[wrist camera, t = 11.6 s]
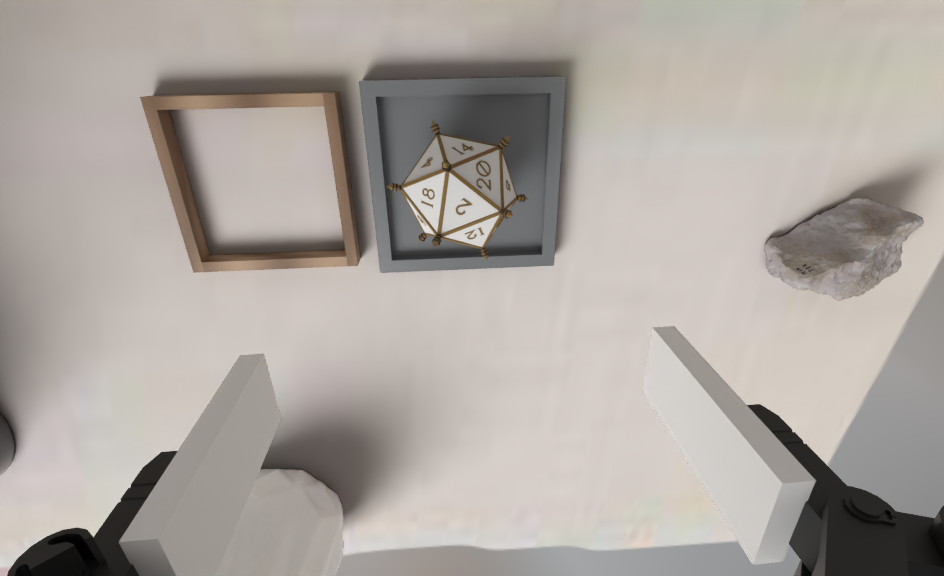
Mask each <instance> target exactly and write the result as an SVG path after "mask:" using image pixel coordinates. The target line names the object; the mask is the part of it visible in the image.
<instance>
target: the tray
mask: <svg viewBox="0 0 944 576" xmlns="http://www.w3.org/2000/svg"><path fill="white" fill-rule="evenodd" d="M359 86H360V95H361V104H362V113H363V122H364V131H365V140H366V149H367V158H368V166H369V175H370V184H371V193H372V202H373V211H374V220H375V229H376V238H377V246H378V255H379V264H380V273H387V272H411V271H434V270H458V269H481V268H505V267H529V266H552V265H554V256H555V240H556V225H557V210H558V194H559V179H560V164H561V148H562V133H563V118H564V103H565V87H566V77H564V76H542V77H493V78H445V79H396V80H361V81H359ZM432 120H433V121H434V122H435V123H436V124H439V125H438V126H439V128H440V129H439V131H440V133H441V134H446V135H451V136H456V137H461V138H466V139H471V140H475V141H480V142H485V143H490V144H495V145H499V143H500V141H501V140H502V138H505V137H508V136H510V137H509V144H507V145H506V146H507V147H504V148H503V149H502V150H503V153H504V156H505V160H506V163H507V166H508V169H509V172H510V175H511V179H512V182H513V185H514V188H515V191H516V194H517V195H520V194H521V195H523V194H524V195H525V196H526V197H527V198H528V199H527V200H526V201H524V202H522V201H520V202H519V201H518V200H516V202H515V203H514V205H513V206H512V208H511V209H510V211H512V215H513V216H512V217H509V218H507V219H506V217H505V218H504V220H503V221H502V222H501V224H500V225H499V227H498V228H497V230H496V231H495V233H494V234H493V236H492V237H491V239H490V240H489V242H488V243H487V245H486V246H485V249H486V250H488V251H487V252H488V253H489V254H488V258H487V259H485V258H484V257H481V256H482V255H481V254H480V253H481V250H480V249H478V248H474V247H471V246H467V245H463V244H459V243H455V242H451V241H447V240H443V239H441V242H440V245H437V246H435V247H433V243H432V240H433V239H434V237H431V236H427V238H426V239H425V241H421V242H419V235H421V233H424V232H423V230H422V228H421V226H420V225H419V223H418V221H417V219H416V217H415V216H414V214H413V212H412V210H411V208H410V206H409V205H408V203H407V201H406V199H405V197H404V196H403V194H402V192H401V191H400V190H398V191H397V192H396V191H393V192H392V190H391V189H389V188H388V187H387V186H388V185H391V184H392V183H394V184H396V183H397V184H398V185H401V184H402V183H403V181H404V180H405V179H406V177H407V176H408V174H409V173H410V171H411V170H412V168H413V167H414V166H415V164H416V163H417V161H418V160H419V158H420V157H421V155H422V154H423V152H424V151H425V150H426V148H427V147H428V145H429V144H430V142H431V141H432V139H433V138H434V136H435V133H434V132H432V131H433V130H432V128H431V126H432Z"/></svg>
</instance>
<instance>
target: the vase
mask: <svg viewBox="0 0 944 576" xmlns="http://www.w3.org/2000/svg"><path fill="white" fill-rule="evenodd" d="M343 546H344V542H343V509H342V505H341V503H340V500H339V497H338V495H337V494H336V493H335V492H333V491H332V490H331V489H329V488H328V487H327V486H325V485H324V484H323V483H322V482H321V481H319V480H316V479H315V478H314V477H313V476H311V475H310V474H308V473H307V472H305V471H303V470H293V469H260V471H259V473H258V476H257V478H256V481H255V483H254V485H253V488H252V490H251V493H250V495H249V497H248V500H247V502H246V504H245V507H244V509H243V512H242V514H241V516H240V519H239V521H238V524H237V526H236V528H235V531H234V533H233V535H232V538H231V540H230V543H229V545H228V547H227V550H226V552H225V555H224V557H223V559H222V562H221V564H220V566H219V569H218V571H217V574H216V576H335V574H336V572H337V569H338V567H339V565H340V562H341V560H342V556H343Z"/></svg>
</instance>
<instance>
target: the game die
mask: <svg viewBox="0 0 944 576" xmlns="http://www.w3.org/2000/svg"><path fill="white" fill-rule="evenodd" d="M438 125H439V124H436V123H435V122H434V121H433V120H432V126H431V128H432V130H433V131H432V132H434V133H435V136H434V138H433V139H432V141H431V142H430V144H429V145H428V147H427V148H426V150H425V151H424V152H423V154H422V155H421V157H420V158H419V160H418V161H417V163H416V164H415V166H414V167H413V168H412V170H411V171H410V173H409V174H408V176H407V177H406V179H405V180H404V181H403V183H402V184H401V185H398V184H397V183H396V184H394V183H392V184H391V185H388V186H387V187H388V188H389V189H391V190H392V192H393V191H396V192H397V191H398V190H400V191H401V192H402V194H403V196H404V197H405V199H406V201H407V203H408V205H409V206H410V208H411V210H412V212H413V214H414V216H415V217H416V219H417V221H418V223H419V225H420V226H421V228H422V230H423V232H424V233H421V235H419V242H421V241H425V239H426V238H427V236H431V237H434V239H433V240H432V243H433V247H435V246H437V245H440V242H441V239H443V240H447V241H451V242H455V243H459V244H463V245H467V246H471V247H474V248H478V249H480V250H481V253H480V254H481V255H482V256H481V257H484V258H485V259H487V258H488V254H489V253H488V252H487V251H488V250H486V249H485V246H486V245H487V243H488V242H489V240H490V239H491V237H492V236H493V234H494V233H495V231H496V230H497V228H498V227H499V225H500V224H501V222H502V221H503V220H504V218H505V217H506V219H507V218H509V217H512V216H513V215H512V211H510V209H511V208H512V206H513V205H514V203H515V202H516V200H518V201H519V202H520V201H522V202H524V201H526V200H527V199H528V198H527V197H526V196H525V195H524V194H523V195H521V194H520V195H517V194H516V191H515V188H514V185H513V182H512V179H511V175H510V172H509V169H508V166H507V163H506V160H505V156H504V153H503V150H502V149H503V148H504V147H507V146H506V145H507V144H509V137H510V136H508V137H505V138H502V140H501V141H500V143H499V145H495V144H490V143H485V142H480V141H475V140H471V139H466V138H461V137H456V136H451V135H446V134H441V133H440V131H439V129H440V128H439V126H438Z"/></svg>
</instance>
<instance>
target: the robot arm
mask: <svg viewBox="0 0 944 576" xmlns="http://www.w3.org/2000/svg"><path fill="white" fill-rule="evenodd" d="M642 392H643V394H644V395H645V397H646V398H647V400H648V401H649V403H650V404H651V406H652V408H653V409H654V411H655V412H656V414H657V415H658V417H659V419H660V420H661V422H662V423H663V425H664V426H665V428H666V429H667V431H668V433H669V434H670V436H671V437H672V439H673V440H674V442H675V444H676V445H677V447H678V448H679V450H680V451H681V453H682V455H683V456H684V458H685V459H686V461H687V462H688V464H689V465H690V467H691V469H692V470H693V472H694V473H695V475H696V476H697V478H698V480H699V481H700V483H701V484H702V486H703V487H704V489H705V491H706V492H707V494H708V495H709V497H710V498H711V500H712V501H713V503H714V505H715V506H716V508H717V509H718V511H719V512H720V514H721V516H722V517H723V519H724V520H725V522H726V523H727V525H728V527H729V528H730V530H731V531H732V533H733V534H734V536H735V537H736V539H737V541H738V542H739V544H740V545H741V547H742V548H743V550H744V552H745V553H746V555H747V556H748V558H749V559H750V561H751V563H752V564H762V563H773V562H783V560H784V558H785V555H786V553H787V550H788V548H789V545H790V546H791V547H792V548H793V550H794V551H795V552H796V554H797V555H798V556H799V558H800V559H801V561H800V563H799V566H798V568H797V570H796V572H795V575H794V576H944V506H943V507H942V508H941V510H940V511H939V513H938V515H937V516H936V518H929V517H923V516H918V515H913V514H907V513H901V512H896V511H895V510H894V509H893V508H892V507H891V506H890V505H889V504H888V503H886V502H885V501H883V500H882V499H881V498H879V497H878V496H876V495H873V494H871V493H869V492H867V491H865V490H862V489H858V488H855V487H851V486H847V485H846V484H845V483H844V482H842V480H841V479H840V478H839V477H838V476H837V475H836V474H835V473H834V472H833V471H832V470H831V469H830V468H829V467H828V466H827V465H826V464H825V463H824V462H823V461H822V460H821V459H820V458H819V457H818V456H817V455H816V454H815V453H814V452H813V451H812V450H811V449H810V448H809V447H808V446H807V444H804V443H803V440H802V439H801V438H800V437H799V436H798V435H797V434H796V433H795V432H794V433H793V432H792V429H791V428H790V427H789V426H788V425H787V424H786V423H785V422H784V421H783V420H782V419H781V418H780V417H779V416H778V415H776V414H775V413H773V412H771V411H770V410H768V409H767V408H765V407H763V406H762V405H760V404H757V405H746V404H745V403H744V402H743V401H742V399H741V398H740V397H739V396H738V395H737V394H736V393H735V392H734V391H733V390H732V389H731V387H730V386H729V385H728V384H727V383H726V382H725V381H724V380H723V379H722V378H721V377H720V375H719V374H718V373H717V372H716V371H715V370H714V369H713V368H712V367H711V366H710V365H709V363H708V362H707V361H706V360H705V359H704V358H703V357H702V356H701V355H700V354H699V353H698V351H697V350H696V349H695V348H694V347H693V346H692V345H691V344H690V343H689V342H688V341H687V339H686V338H685V337H684V336H683V335H682V334H681V333H680V332H679V331H678V330H677V329H676V328H675V326H669V327H654V328H653V329H652V335H651V341H650V347H649V353H648V360H647V366H646V372H645V378H644V384H643V390H642ZM280 421H281V415H280V412H279V408H278V404H277V400H276V397H275V393H274V389H273V386H272V382H271V378H270V374H269V371H268V367H267V363H266V360H265V356H264V354H254V355H240V356H239V358H238V359H237V361H236V362H235V364H234V366H233V367H232V369H231V370H230V372H229V373H228V375H227V376H226V378H225V379H224V381H223V382H222V384H221V386H220V387H219V389H218V390H217V392H216V393H215V395H214V396H213V398H212V399H211V401H210V402H209V404H208V406H207V407H206V409H205V410H204V412H203V413H202V415H201V416H200V418H199V419H198V421H197V422H196V424H195V426H194V427H193V429H192V430H191V432H190V433H189V435H188V436H187V438H186V439H185V441H184V442H183V444H182V445H181V447H180V449H179V450H178V451H170V452H161V453H160V454H159V455H158V456H156V457H155V458H154V459H153V460H152V461H150V462H149V463H148V464H147V465H146V466H144V467H143V468H142V470H141V471H140V473H139V474H138V476H137V477H136V478H135V480H134V481H133V483H132V484H131V488H128V490H127V491H126V492H125V494H124V495H123V497H122V498H121V502H120V503H118V504H117V505H116V507H115V508H114V509H113V511H112V512H111V514H110V515H109V516H108V518H107V519H106V521H105V522H104V523H103V525H102V526H101V528H100V529H99V530H98V532H97V533H96V535H95V536H94V538H93V537H92V535H91V534H90V533H89V532H88V530H86V529H81V528H72V529H66V530H62V531H59V532H57V533H54V534H52V535H50V536H47V537H45V538H44V539H42V540H41V541H39V542H37V543H36V544H34V545H33V546H31V547H30V548H29V549H28V550H27V551H26V552H24V553H23V554H22V555H21V556H20V557H19V558H18V559H17V560H16V562H15V563H14V564H13V566H12V567H11V569H10V570H9V571H8V575H7V576H216V574H217V571H218V569H219V566H220V564H221V562H222V559H223V557H224V555H225V552H226V550H227V547H228V545H229V543H230V540H231V538H232V535H233V533H234V531H235V528H236V526H237V524H238V521H239V519H240V516H241V514H242V512H243V509H244V507H245V504H246V502H247V500H248V497H249V495H250V493H251V490H252V488H253V485H254V483H255V481H256V478H257V476H258V473H259V471H260V469H261V466H262V464H263V462H264V459H265V457H266V454H267V452H268V450H269V447H270V445H271V443H272V440H273V438H274V435H275V433H276V431H277V428H278V426H279V423H280ZM13 456H14V440H13V436H12V433H11V431H10V428H9V426H8V424H7V423H6V421H5V420H4V418H3V417H2V415H1V414H0V475H1V474H2V473H3V472H4V471H5V470H6V469H7V468H8V467H9V465H10V463H11V461H12V459H13Z"/></svg>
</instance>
